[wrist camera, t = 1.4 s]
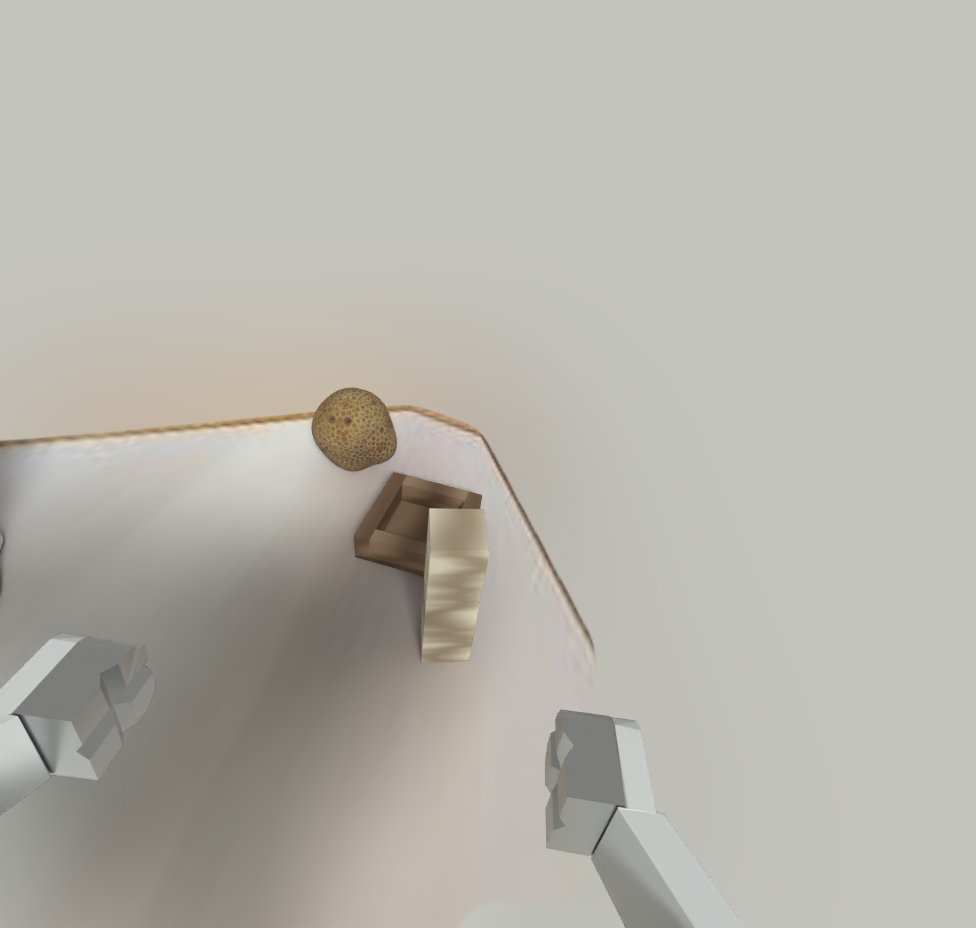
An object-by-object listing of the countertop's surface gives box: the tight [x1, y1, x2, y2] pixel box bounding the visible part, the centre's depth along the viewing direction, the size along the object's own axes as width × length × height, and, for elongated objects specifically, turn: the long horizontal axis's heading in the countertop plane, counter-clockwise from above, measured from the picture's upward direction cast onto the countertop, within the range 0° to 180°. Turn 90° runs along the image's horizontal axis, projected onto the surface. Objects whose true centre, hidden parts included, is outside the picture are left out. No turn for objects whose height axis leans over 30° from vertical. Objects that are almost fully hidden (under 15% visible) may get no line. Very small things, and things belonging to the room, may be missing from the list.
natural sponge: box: [312, 388, 397, 471], centre depth 59 cm, size 9×9×10 cm
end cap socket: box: [354, 472, 482, 576], centre depth 54 cm, size 10×10×3 cm
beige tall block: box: [421, 508, 490, 662], centre depth 41 cm, size 4×4×14 cm
